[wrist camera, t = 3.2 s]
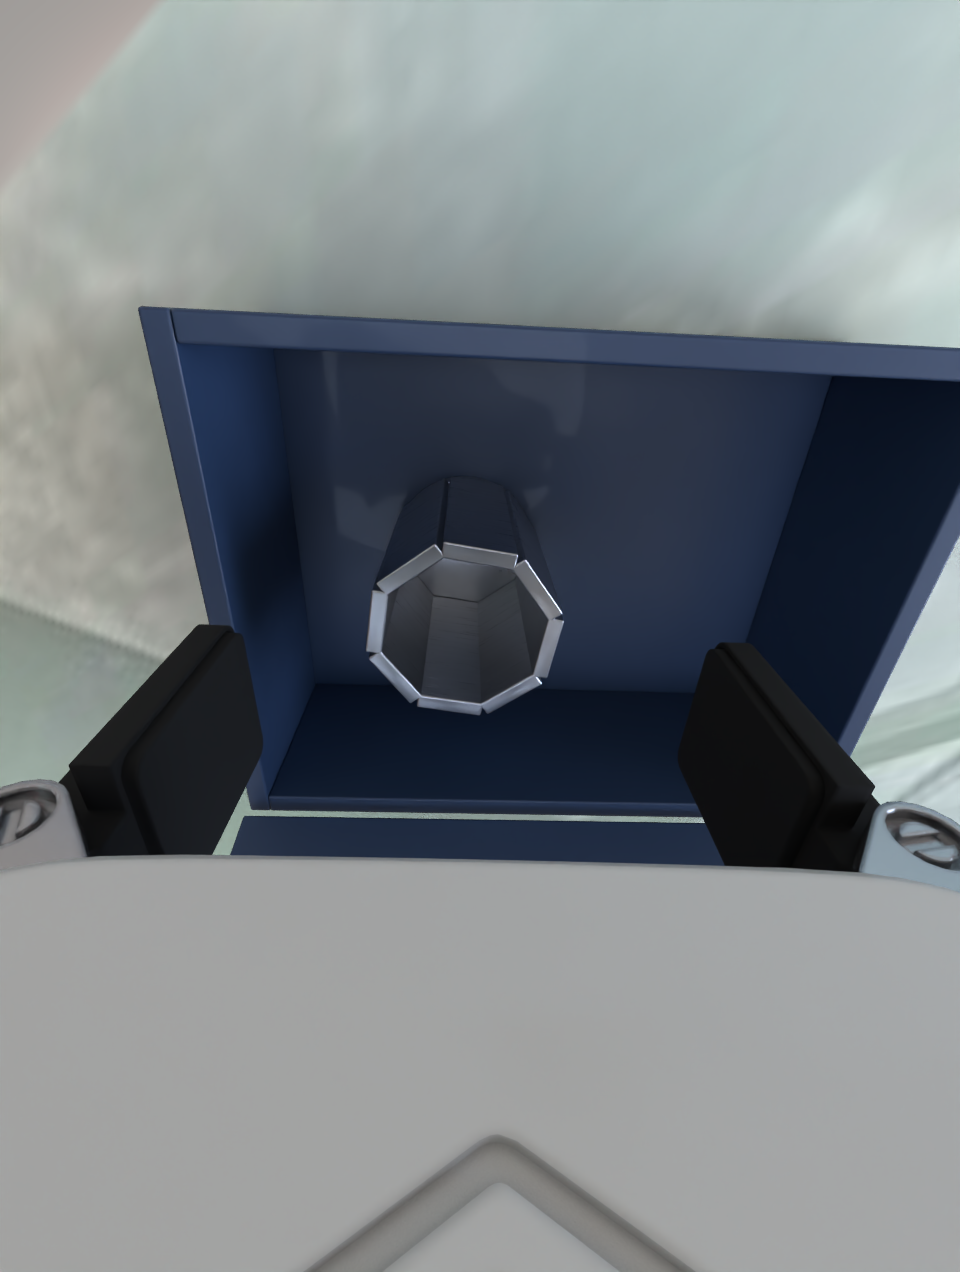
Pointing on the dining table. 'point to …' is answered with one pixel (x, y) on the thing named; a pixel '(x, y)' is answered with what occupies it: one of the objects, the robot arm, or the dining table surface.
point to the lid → (478, 839)
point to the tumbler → (463, 600)
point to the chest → (554, 535)
